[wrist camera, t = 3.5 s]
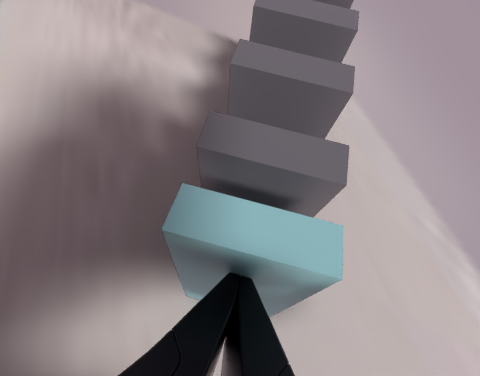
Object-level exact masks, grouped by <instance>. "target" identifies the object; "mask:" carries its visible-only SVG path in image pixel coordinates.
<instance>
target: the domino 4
mask: <svg viewBox="0 0 480 376" xmlns="http://www.w3.org/2000/svg"><path fill="white" fill-rule="evenodd" d="M161 230H162V233H163V236H164V238H165V241H166V243H167V246H168V249H169V251H170V254H171V257H172V259H173V262H174V265H175V267H176V270H177V272H178V275H179V278H180V280H181V283H182V286H183V288H184V291H185V294H186V296H189V297H192V298H196V299H199V300H201V299H202V298H203V297H204V296H205V295H206V294H207V293H208V292H209V291H211V290H212V289H213V288H214V287H215V286H216V285H217V284H218V283H219V282H220V281H221V280H222V279H223V278H224V277H225V276H226V275H227V274H228V273H229V272H231V273H235V274H238V275H240V276H245V277H249V278H251V279H252V280H253V282H254V284H255V287H256V289H257V291H258V293H259V296H260V298H261V300H262V302H263V305H264V307H265V309H266V312H267V314H268V316H269V317H271V316H273V315H275V314H277V313H279V312H281V311H283V310H284V309H286V308H288V307H290V306H292V305H294V304H296V303H298V302H300V301H302V300H304V299H306V298H308V297H309V296H311V295H313V294H315V293H317V292H319V291H321V290H323V289H325V288H327V287H329V286H331V285H332V284H334V283H336V282H338V281H340V280H342V266H343V225H339V224H335V223H331V222H327V221H324V220H320V219H316V218H312V217H309V216H305V215H301V214H297V213H294V212H290V211H286V210H282V209H279V208H275V207H271V206H267V205H264V204H260V203H256V202H252V201H249V200H245V199H241V198H237V197H233V196H230V195H226V194H222V193H218V192H215V191H211V190H207V189H203V188H200V187H196V186H192V185H188V184H185V183H182V185H181V187H180V189H179V192H178V194H177V196H176V198H175V201H174V203H173V205H172V207H171V209H170V212H169V214H168V216H167V218H166V221H165V223H164V225H163V227H162V229H161Z"/></svg>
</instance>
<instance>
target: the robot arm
mask: <svg viewBox="0 0 480 376" xmlns="http://www.w3.org/2000/svg"><path fill="white" fill-rule="evenodd" d="M224 340H225V343H224ZM223 344H224V351H223V360H222V370H221V376H295V375H294V373H293V370H292V368H291V366H290V364H289V362H288V359H287V357H286V355H285V352H284V350H283V348H282V346H281V343H280V341H279V339H278V337H277V334H276V332H275V330H274V327H273V325H272V323H271V321H270V318H269V316H268V314H267V312H266V309H265V307H264V305H263V302H262V300H261V298H260V296H259V293H258V291H257V289H256V287H255V284H254V282H253V280H252V279H251V278H249V277H245V276H240V275H238V274H235V273H231V272H229V273H228V274H227V275H226V276H225V277H224V278H223V279H222V280H221V281H220V282H219V283H218V284H217V285H216V286H215V287H214V288H213V289H212V290H211V291H209V292H208V293H207V294H206V295H205V296H204V297H203V298H202V299H201V300H200V301H199V302H198V303H197V304H196V305H195V306H194V307H193V308H192V309H191V310H190V311H189V312H188V313H187V314H186V315H185V316H184V317H183V318H182V319H181V320H180V321H179V322H178V323H177V324H176V325H175V326H174V327H173V328H172V330H170V331H169V332H168V333H167V334H166V335H165V336H164V337H163V338H162V339H161V340H160V341H159V342H158V343H156V344H155V345H154V346H153V347H152V348H151V349H150V350H149V351H148V352H147V353H145V354H144V355H143V356H142V357H141V358H139V359H138V360H137V361H136V362H134V363H133V364H132V365H131V366H129V367H128V368H127V369H126V370H124V371H123V372H122V373H120V374H119V375H118V376H213V373H214V370H215V367H216V364H217V361H218V359H219V356H220V353H221V350H222V347H223Z"/></svg>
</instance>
